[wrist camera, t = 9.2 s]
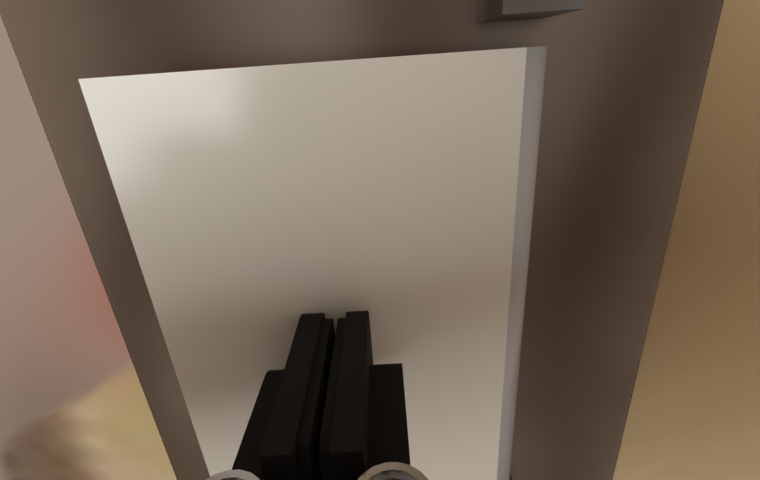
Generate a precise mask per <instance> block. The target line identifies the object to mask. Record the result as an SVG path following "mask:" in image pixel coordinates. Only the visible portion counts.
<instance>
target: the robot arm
mask: <svg viewBox="0 0 760 480" xmlns="http://www.w3.org/2000/svg"><path fill="white" fill-rule="evenodd" d="M206 480H428V479H427V477H426V476H425V475H424V474H423V473H422V472H421V471H419V470H418V469H416V468H414V467H413V466H411V465H410V453H409V440H408V428H407V416H406V404H405V391H404V379H403V367H402V363H396V364H377V365H373V354H372V342H371V330H370V318H369V311H368V310H367V311H349V312H346V318H338V320H337V327H336V334H335V330H334V322H333V319H332V318H330V319H325V314H324V313H313V314H301V316H300V318H299V322H298V325H297V328H296V332H295V335H294V338H293V342H292V345H291V348H290V352H289V355H288V358H287V362H286V365H285V368H284V369H282V370H269V371H268V372H267V373H266V375H265V377H264V380H263V382H262V385H261V388H260V391H259V394H258V396H257V399H256V402H255V405H254V408H253V411H252V413H251V416H250V419H249V422H248V425H247V427H246V430H245V433H244V436H243V439H242V442H241V444H240V447H239V450H238V453H237V456H236V458H235V461H234V464H233V467H232V470H227V471H224V472H220V473H217V474H214V475H213V476H211V477H209V478H207V479H206Z"/></svg>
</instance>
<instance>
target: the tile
mask: <svg viewBox="0 0 760 480" xmlns="http://www.w3.org/2000/svg"><path fill="white" fill-rule="evenodd" d="M546 57H547V46H537V47H523V48H509V49H494V50H480V51H466V52H452V53H438V54H424V55H410V56H396V57H381V58H367V59H353V60H339V61H325V62H311V63H297V64H283V65H269V66H254V67H240V68H226V69H212V70H198V71H184V72H170V73H156V74H141V75H127V76H113V77H99V78H85V79H78V80H79V83H80V86H81V89H82V92H83V95H84V98H85V101H86V104H87V107H88V110H89V113H90V116H91V119H92V122H93V125H94V128H95V131H96V134H97V137H98V140H99V143H100V146H101V149H102V153H103V156H104V159H105V162H106V165H107V168H108V171H109V174H110V177H111V180H112V183H113V186H114V189H115V192H116V195H117V198H118V201H119V204H120V207H121V210H122V213H123V216H124V219H125V222H126V225H127V228H128V231H129V234H130V237H131V240H132V243H133V246H134V249H135V252H136V255H137V258H138V261H139V264H140V267H141V270H142V273H143V276H144V279H145V282H146V285H147V288H148V291H149V294H150V297H151V300H152V303H153V306H154V309H155V312H156V315H157V318H158V321H159V324H160V327H161V330H162V333H163V336H164V339H165V342H166V345H167V348H168V351H169V354H170V357H171V360H172V363H173V366H174V369H175V372H176V375H177V378H178V381H179V384H180V387H181V390H182V393H183V396H184V399H185V402H186V405H187V408H188V411H189V414H190V417H191V420H192V423H193V426H194V429H195V432H196V435H197V438H198V442H199V445H200V448H201V451H202V454H203V457H204V460H205V463H206V466H207V469H208V472H209V475H210V477H211V476H213V475H214V474H217V473H220V472H224V471H227V470H232V467H233V464H234V461H235V458H236V456H237V453H238V450H239V447H240V444H241V442H242V439H243V436H244V433H245V430H246V427H247V425H248V422H249V419H250V416H251V413H252V411H253V408H254V405H255V402H256V399H257V396H258V394H259V391H260V388H261V385H262V382H263V380H264V377H265V375H266V373H267V372H268V371H269V370H282V369H284V368H285V365H286V362H287V358H288V355H289V352H290V348H291V345H292V342H293V338H294V335H295V332H296V328H297V325H298V322H299V318H300V316H301V314H313V313H324V314H325V319H330V318H332V319H333V322H334V330H335V334H336V327H337V320H338V318H346V312H349V311H367V310H368V311H369V318H370V330H371V342H372V354H373V365H377V364H396V363H402V367H403V379H404V391H405V404H406V416H407V428H408V440H409V453H410V465H411V466H413V467H414V468H416V469H418V470H419V471H421V472H422V473H423V474H424V475H425V476H426V477H427V479H428V480H509V479H510V469H511V458H512V446H513V435H514V423H515V412H516V400H517V389H518V377H519V366H520V355H521V343H522V332H523V320H524V309H525V297H526V286H527V275H528V263H529V252H530V240H531V229H532V217H533V206H534V195H535V183H536V172H537V160H538V149H539V137H540V126H541V115H542V103H543V92H544V80H545V69H546Z"/></svg>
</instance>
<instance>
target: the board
mask: <svg viewBox="0 0 760 480" xmlns="http://www.w3.org/2000/svg"><path fill="white" fill-rule="evenodd" d="M723 1H724V0H0V15H1V17H2V20H3V23H4V25H5V28H6V30H7V33H8V36H9V38H10V41H11V43H12V46H13V49H14V52H15V54H16V56H17V59H18V62H19V65H20V67H21V70H22V73H23V75H24V78H25V81H26V83H27V86H28V88H29V91H30V94H31V96H32V99H33V101H34V104H35V106H36V109H37V112H38V115H39V117H40V120H41V123H42V125H43V128H44V130H45V133H46V136H47V138H48V141H49V144H50V146H51V149H52V152H53V154H54V157H55V159H56V162H57V165H58V167H59V170H60V173H61V175H62V178H63V180H64V183H65V186H66V188H67V191H68V194H69V196H70V199H71V202H72V204H73V207H74V209H75V212H76V215H77V217H78V220H79V222H80V225H81V228H82V231H83V233H84V236H85V238H86V241H87V243H88V246H89V249H90V252H91V254H92V257H93V259H94V262H95V265H96V267H97V270H98V272H99V275H100V278H101V281H102V283H103V286H104V288H105V291H106V294H107V296H108V298H109V302H110V304H111V307H112V309H113V312H114V315H115V317H116V320H117V323H118V325H119V328H120V330H121V333H122V336H123V338H124V341H125V343H126V346H127V349H128V351H129V354H130V357H131V359H132V362H133V365H134V367H135V370H136V373H137V375H138V378H139V381H140V383H141V386H142V388H143V391H144V394H145V396H146V399H147V402H148V404H149V407H150V409H151V412H152V415H153V417H154V420H155V423H156V425H157V428H158V431H159V433H160V436H161V438H162V441H163V444H164V446H165V449H166V452H167V454H168V457H169V459H170V462H171V465H172V467H173V470H174V473H175V475H176V478H177V480H206V479H207V478H209V477H210V475H209V472H208V469H207V466H206V463H205V460H204V457H203V454H202V451H201V448H200V445H199V442H198V438H197V435H196V432H195V429H194V426H193V423H192V420H191V417H190V414H189V411H188V408H187V405H186V402H185V399H184V396H183V393H182V390H181V387H180V384H179V381H178V378H177V375H176V372H175V369H174V366H173V363H172V360H171V357H170V354H169V351H168V348H167V345H166V342H165V339H164V336H163V333H162V330H161V327H160V324H159V321H158V318H157V315H156V312H155V309H154V306H153V303H152V300H151V297H150V294H149V291H148V288H147V285H146V282H145V279H144V276H143V273H142V270H141V267H140V264H139V261H138V258H137V255H136V252H135V249H134V246H133V243H132V240H131V237H130V234H129V231H128V228H127V225H126V222H125V219H124V216H123V213H122V210H121V207H120V204H119V201H118V198H117V195H116V192H115V189H114V186H113V183H112V180H111V177H110V174H109V171H108V168H107V165H106V162H105V159H104V156H103V153H102V149H101V146H100V143H99V140H98V137H97V134H96V131H95V128H94V125H93V122H92V119H91V116H90V113H89V110H88V107H87V104H86V101H85V98H84V95H83V92H82V89H81V86H80V83H79V80H78V79H85V78H99V77H113V76H127V75H141V74H156V73H170V72H184V71H198V70H212V69H226V68H240V67H254V66H269V65H283V64H297V63H311V62H325V61H339V60H353V59H367V58H381V57H396V56H410V55H424V54H438V53H452V52H466V51H480V50H494V49H509V48H523V47H537V46H547V57H546V69H545V80H544V92H543V103H542V115H541V126H540V137H539V149H538V160H537V172H536V183H535V195H534V206H533V217H532V229H531V240H530V252H529V263H528V275H527V286H526V297H525V309H524V320H523V332H522V343H521V355H520V366H519V377H518V389H517V400H516V412H515V423H514V435H513V446H512V458H511V469H510V479H509V480H613V475H614V471H615V467H616V462H617V458H618V454H619V449H620V445H621V441H622V436H623V432H624V428H625V424H626V419H627V415H628V411H629V406H630V402H631V398H632V393H633V389H634V385H635V380H636V376H637V372H638V368H639V363H640V359H641V355H642V350H643V346H644V342H645V337H646V333H647V329H648V325H649V320H650V316H651V312H652V307H653V303H654V299H655V294H656V290H657V286H658V281H659V277H660V273H661V269H662V264H663V260H664V256H665V251H666V247H667V243H668V238H669V234H670V230H671V225H672V221H673V217H674V213H675V208H676V204H677V200H678V195H679V191H680V187H681V182H682V178H683V174H684V169H685V165H686V161H687V157H688V152H689V148H690V144H691V139H692V135H693V131H694V126H695V122H696V118H697V113H698V109H699V105H700V101H701V96H702V92H703V88H704V83H705V79H706V75H707V70H708V66H709V62H710V57H711V53H712V49H713V45H714V40H715V36H716V32H717V27H718V23H719V19H720V14H721V10H722V6H723Z"/></svg>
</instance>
